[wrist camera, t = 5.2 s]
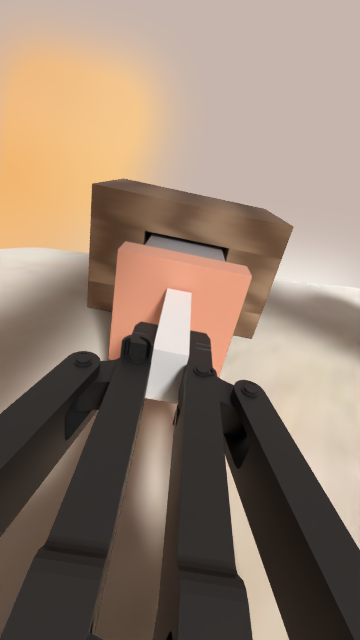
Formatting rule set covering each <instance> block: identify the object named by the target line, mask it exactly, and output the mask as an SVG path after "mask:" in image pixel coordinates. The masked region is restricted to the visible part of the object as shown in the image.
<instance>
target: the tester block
mask: <svg viewBox="0 0 360 640" xmlns="http://www.w3.org/2000/svg"><path fill="white" fill-rule="evenodd" d="M292 229H293V226H292V225H290V224H288V223H286V222H285V221H283V220H282V219H280V218H279V217H277V216H275V215H274V214H272V213H271V212H269V211H267V210H265V209H262V208H258V207H253V206H248V205H243V204H239V203H234V202H230V201H225V200H221V199H216V198H211V197H207V196H202V195H197V194H192V193H188V192H183V191H179V190H174V189H169V188H164V187H160V186H156V185H151V184H146V183H141V182H137V181H132V180H128V179H118V180H112V181H106V182H100V183H94V184H92V202H91V228H90V253H89V278H88V303H87V307H92V308H97V309H102V310H107V311H112V312H113V300H114V289H115V277H116V266H117V255H118V249H119V248H120V247H121V246H122V244H123V243H124V242H125V241H127V242H132V243H137V244H141V245H145V244H146V243H147V241H148V240H149V238H150V237H151V235H152V234H153V233H158V234H163V235H168V236H172V237H177V238H182V239H187V240H192V241H196V242H201V243H206V244H211V245H216V246H220V247H221V249H222V252H223V255H224V259H225V262H229V263H234V264H239V265H244V266H247V267H248V269H249V271H250V273H251V275H252V279H251V282H250V285H249V288H248V291H247V294H246V297H245V300H244V303H243V306H242V309H241V312H240V315H239V318H238V321H237V324H236V327H235V330H234V333H233V335H236V336H241V337H246V338H251V339H252V337H253V334H254V332H255V329H256V326H257V324H258V321H259V318H260V315H261V313H262V310H263V307H264V305H265V302H266V299H267V297H268V294H269V291H270V289H271V286H272V283H273V281H274V278H275V275H276V273H277V270H278V267H279V264H280V262H281V259H282V256H283V254H284V251H285V248H286V246H287V243H288V240H289V237H290V235H291V232H292Z"/></svg>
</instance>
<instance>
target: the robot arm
mask: <svg viewBox="0 0 360 640" xmlns="http://www.w3.org/2000/svg"><path fill="white" fill-rule="evenodd" d="M191 294H192V293H189V292H184V291H179V290H174V289H169V288H167V292H166V296H165V301H164V305H163V309H162V313H161V317H160V322H159V325H157V324H152V323H147V322H139V323H138V324H136V325H135V327H134V330H133V332H132V335H128V336H126V337H124V338H123V340H122V345H121V354H120V358H118V359H115V360H111V361H100V358H99V357H98V356H97V355H96V354H94V353H92V352H87V351H80V352H76V353H73V354H71V355H69V356H68V357H67V358H66V359H64V360H63V361H62V362H61V363H60V364H58V365H57V366H56V367H55V368H54V369H53V370H51V371H50V372H49V373H48V374H47V375H46V376H44V377H43V378H42V379H41V380H40V381H38V382H37V383H36V384H35V385H34V386H33V387H31V388H30V389H29V390H28V391H27V392H25V393H24V394H23V395H22V396H21V397H20V398H18V399H17V400H16V401H15V402H14V403H13V404H11V405H10V406H9V407H8V408H7V409H5V410H4V411H3V412H2V413H1V414H0V537H1V535H2V534H3V533H4V532H5V530H6V529H7V528H8V526H9V525H10V524H11V522H12V521H13V520H14V519H15V517H16V516H17V515H18V513H19V512H20V511H21V509H22V508H23V507H24V506H25V504H26V503H27V502H28V500H29V499H30V498H31V496H32V495H33V494H34V493H35V491H36V490H37V489H38V487H39V486H40V485H41V483H42V482H43V481H44V480H45V478H46V477H47V476H48V474H49V473H50V472H51V470H52V469H53V468H54V466H55V465H56V464H57V463H58V461H59V460H60V459H61V457H62V456H63V455H64V453H65V452H66V451H67V450H68V448H69V447H70V446H71V444H72V443H73V442H74V440H75V439H76V438H77V437H78V435H79V434H80V433H81V431H82V430H83V429H84V427H85V426H86V425H87V424H88V422H89V421H90V420H91V418H92V417H93V416H94V414H95V413H96V411H97V410H99V411H98V414H97V416H96V419H95V421H94V424H93V426H92V429H91V431H90V434H89V436H88V439H87V441H86V444H85V446H84V449H83V451H82V454H81V456H80V459H79V461H78V464H77V466H76V469H75V472H74V474H73V477H72V479H71V482H70V484H69V487H68V489H67V492H66V494H65V497H64V499H63V502H62V504H61V507H60V509H59V512H58V514H57V517H56V519H55V522H54V524H53V527H52V529H51V532H50V534H49V537H48V539H47V541H46V543H45V545H44V546H43V547H41V548H40V549H39V550H38V552H37V554H36V555H35V557H34V559H33V561H32V564H31V566H30V568H29V570H28V573H27V575H26V577H25V580H24V582H23V585H22V587H21V589H20V592H19V594H18V597H17V599H16V602H15V604H14V606H13V609H12V611H11V614H10V616H9V618H8V621H7V623H6V626H5V628H4V631H3V633H2V635H1V638H0V640H102V639H100V638H99V637H97V636H95V635H94V633H95V628H96V623H97V618H98V613H99V608H100V603H101V598H102V593H103V589H104V584H105V580H106V575H107V570H108V566H109V561H110V557H111V552H112V547H113V543H114V538H115V534H116V529H117V525H118V520H119V515H120V511H121V506H122V502H123V497H124V492H125V488H126V483H127V479H128V474H129V470H130V465H131V460H132V456H133V451H134V447H135V442H136V437H137V433H138V428H139V424H140V419H141V414H142V410H143V405H144V399H145V398H148V399H154V400H159V401H165V402H170V403H176V404H177V401H178V405H177V409H176V413H175V416H174V420H173V425H174V435H173V447H172V458H171V469H170V480H169V492H168V503H167V514H166V525H165V536H164V548H163V559H162V570H161V581H160V593H159V603H158V612H157V618H156V623H155V629H154V636H153V640H253V639H252V630H251V622H250V613H249V605H248V598H247V592H246V588H245V585H244V582H243V580H242V579H241V578H240V577H239V575H238V574H237V571H236V566H235V557H234V547H233V536H232V526H231V515H230V504H229V494H228V483H227V473H226V462H225V456H226V459H227V462H228V465H229V467H230V470H231V473H232V476H233V479H234V482H235V485H236V488H237V490H238V493H239V496H240V499H241V502H242V505H243V508H244V511H245V513H246V516H247V519H248V522H249V525H250V528H251V531H252V534H253V536H254V539H255V542H256V545H257V548H258V551H259V554H260V557H261V559H262V562H263V565H264V568H265V571H266V574H267V577H268V580H269V582H270V585H271V588H272V591H273V594H274V597H275V600H276V603H277V605H278V608H279V611H280V614H281V617H282V620H283V623H284V626H285V628H286V631H287V634H288V637H289V640H360V550H359V548H358V547H357V545H356V543H355V542H354V540H353V538H352V537H351V535H350V533H349V532H348V530H347V528H346V527H345V525H344V523H343V522H342V520H341V518H340V517H339V515H338V513H337V512H336V510H335V508H334V507H333V505H332V503H331V502H330V500H329V498H328V497H327V495H326V493H325V492H324V490H323V488H322V487H321V485H320V483H319V482H318V480H317V478H316V477H315V475H314V473H313V472H312V470H311V468H310V467H309V465H308V463H307V462H306V460H305V458H304V457H303V455H302V453H301V452H300V450H299V448H298V447H297V445H296V443H295V442H294V440H293V438H292V437H291V435H290V433H289V432H288V430H287V428H286V427H285V425H284V423H283V422H282V420H281V418H280V417H279V415H278V413H277V412H276V410H275V408H274V407H273V405H272V403H271V402H270V400H269V398H268V397H267V395H266V393H265V392H264V390H263V389H262V388H261V387H260V386H259V385H257V384H256V383H253V382H251V381H247V380H240V381H237V382H236V383H235V385H232V384H230V383H227V382H225V381H223V380H221V379H220V378H219V377H218V376H217V373H216V370H215V369H214V368H213V365H212V352H211V340H210V338H209V337H208V335H207V334H206V333H202V332H197V331H192V330H190V319H191Z"/></svg>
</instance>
